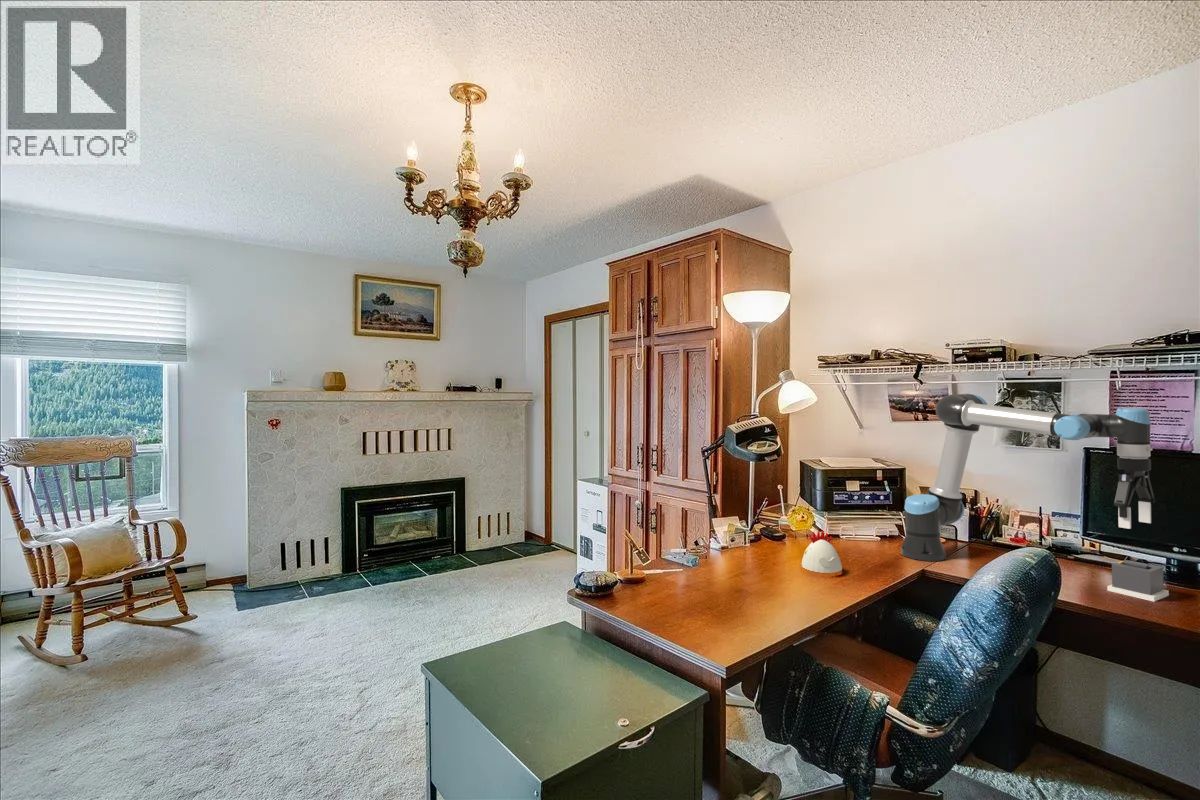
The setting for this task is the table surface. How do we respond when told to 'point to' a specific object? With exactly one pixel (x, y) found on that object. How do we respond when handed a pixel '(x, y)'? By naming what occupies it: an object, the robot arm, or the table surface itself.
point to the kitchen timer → (821, 555)
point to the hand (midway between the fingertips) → (1135, 525)
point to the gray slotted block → (1137, 578)
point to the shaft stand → (1135, 594)
